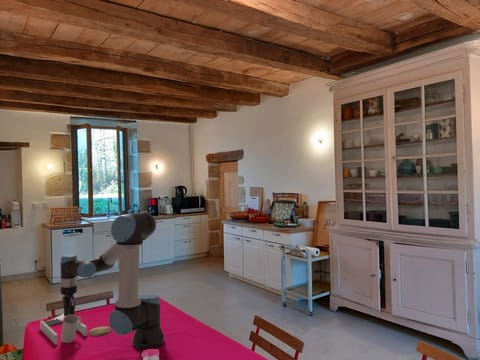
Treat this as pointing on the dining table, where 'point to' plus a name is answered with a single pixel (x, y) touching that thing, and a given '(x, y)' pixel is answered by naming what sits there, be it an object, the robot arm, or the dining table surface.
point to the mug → (70, 327)
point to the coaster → (99, 331)
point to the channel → (54, 336)
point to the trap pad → (53, 322)
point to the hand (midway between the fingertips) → (69, 331)
